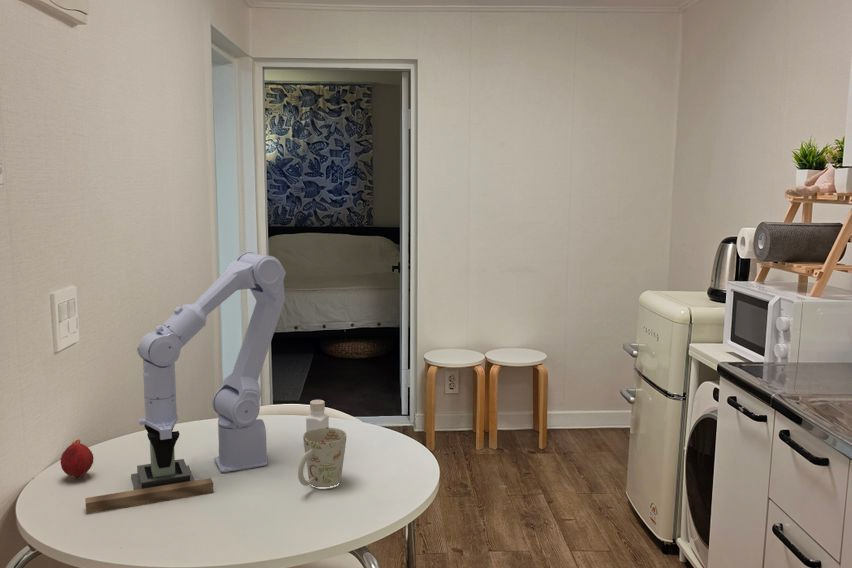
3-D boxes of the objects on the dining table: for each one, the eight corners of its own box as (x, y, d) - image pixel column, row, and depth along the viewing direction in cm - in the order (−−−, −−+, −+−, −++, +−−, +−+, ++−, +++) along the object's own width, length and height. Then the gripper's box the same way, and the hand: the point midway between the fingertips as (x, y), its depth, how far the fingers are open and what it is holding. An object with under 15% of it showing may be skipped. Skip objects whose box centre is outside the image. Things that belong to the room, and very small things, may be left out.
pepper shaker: (321, 446, 165) (320, 405, 164) (305, 444, 167) (305, 403, 165) (329, 440, 169) (329, 400, 167) (314, 438, 170) (313, 398, 169)
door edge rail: (211, 487, 143) (210, 477, 143) (213, 492, 141) (213, 482, 141) (85, 508, 134) (85, 498, 134) (86, 514, 132) (85, 503, 131)
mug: (354, 479, 148) (354, 431, 147) (319, 504, 137) (319, 453, 135) (318, 471, 152) (318, 424, 150) (282, 495, 140) (281, 445, 139)
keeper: (188, 468, 152) (188, 456, 152) (197, 489, 143) (197, 476, 142) (131, 477, 148) (130, 464, 147) (136, 499, 138) (135, 486, 137)
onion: (81, 485, 143) (79, 446, 142) (55, 482, 144) (52, 443, 143) (100, 473, 149) (98, 435, 148) (74, 471, 150) (72, 433, 149)
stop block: (172, 466, 147) (171, 437, 146) (175, 474, 144) (174, 444, 143) (151, 470, 146) (149, 440, 145) (153, 477, 142) (152, 447, 141)
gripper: (134, 387, 147) (137, 452, 149) (141, 408, 134) (144, 480, 136) (171, 383, 150) (174, 447, 152) (182, 404, 137) (184, 474, 139)
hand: (162, 462), depth 144 cm, fingers closed on stop block, 4 cm apart
